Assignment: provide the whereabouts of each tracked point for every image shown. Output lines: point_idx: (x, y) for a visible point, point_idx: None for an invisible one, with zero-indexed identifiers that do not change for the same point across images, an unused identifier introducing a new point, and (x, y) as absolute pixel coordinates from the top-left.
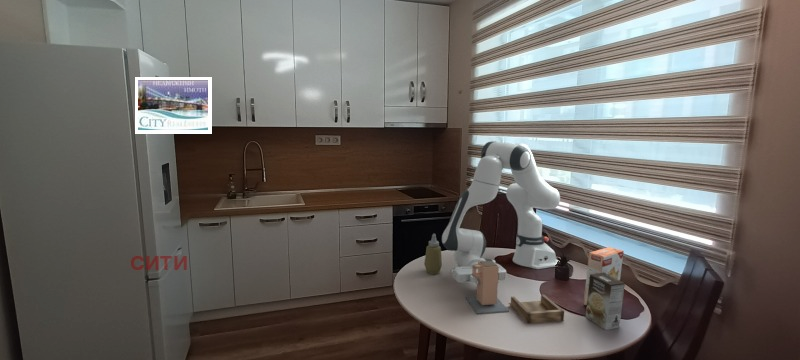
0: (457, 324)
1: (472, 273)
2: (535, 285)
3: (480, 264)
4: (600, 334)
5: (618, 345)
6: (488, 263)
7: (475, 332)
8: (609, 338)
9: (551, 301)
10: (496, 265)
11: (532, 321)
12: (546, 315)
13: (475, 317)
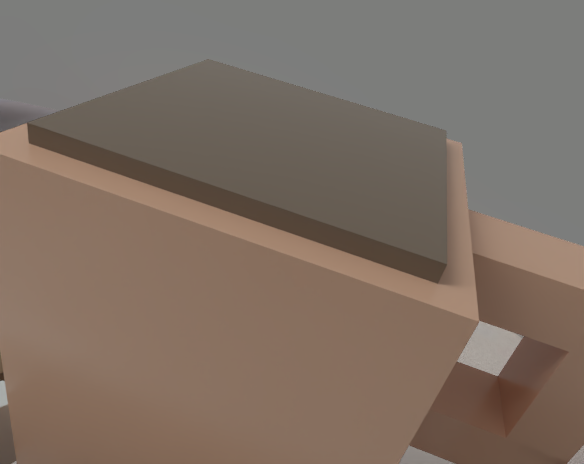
0: (576, 459)
1: (560, 453)
2: None
3: (462, 232)
4: (4, 129)
5: (44, 107)
6: (287, 125)
7: (484, 354)
8: (14, 117)
9: None
10: (217, 63)
11: None
12: None
13: (421, 460)
